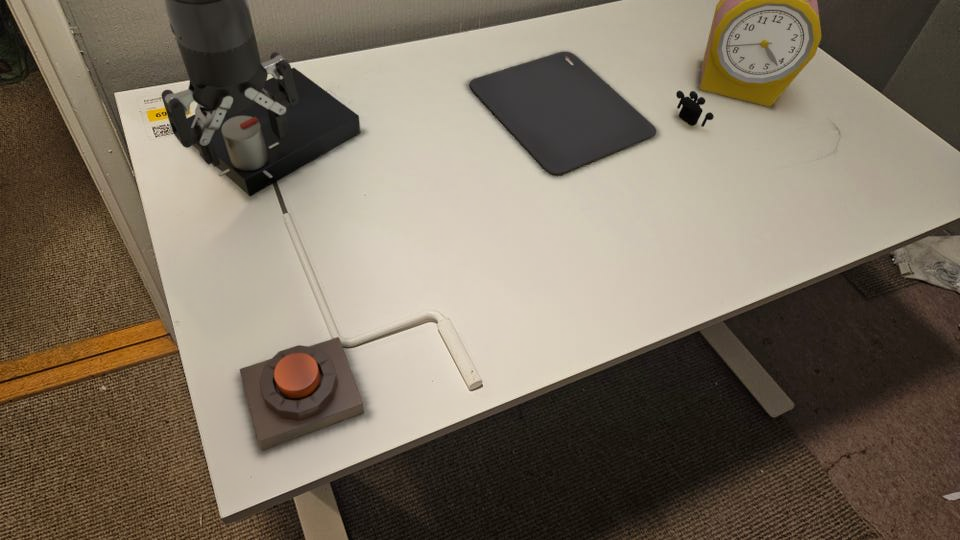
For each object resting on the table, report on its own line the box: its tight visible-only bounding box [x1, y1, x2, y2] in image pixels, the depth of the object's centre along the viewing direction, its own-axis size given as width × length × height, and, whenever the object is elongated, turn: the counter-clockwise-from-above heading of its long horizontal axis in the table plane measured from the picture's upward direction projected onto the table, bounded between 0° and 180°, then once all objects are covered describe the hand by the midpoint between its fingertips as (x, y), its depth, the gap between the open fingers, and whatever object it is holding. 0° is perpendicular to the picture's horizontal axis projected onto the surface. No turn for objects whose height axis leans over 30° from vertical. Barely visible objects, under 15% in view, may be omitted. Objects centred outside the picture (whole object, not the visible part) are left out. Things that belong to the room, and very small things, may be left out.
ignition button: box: [274, 353, 320, 399], centre depth 58 cm, size 4×4×2 cm
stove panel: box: [187, 67, 361, 197], centre depth 81 cm, size 20×16×3 cm
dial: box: [221, 116, 268, 171], centre depth 73 cm, size 4×4×5 cm
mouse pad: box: [469, 51, 657, 175], centre depth 92 cm, size 23×20×1 cm
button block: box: [239, 336, 365, 451], centre depth 60 cm, size 10×8×4 cm
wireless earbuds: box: [675, 90, 715, 128], centre depth 91 cm, size 7×2×5 cm, turn 38°
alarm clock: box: [699, 0, 822, 108], centre depth 93 cm, size 15×8×18 cm, turn 74°
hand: (247, 148), depth 74 cm, fingers open, 8 cm apart
